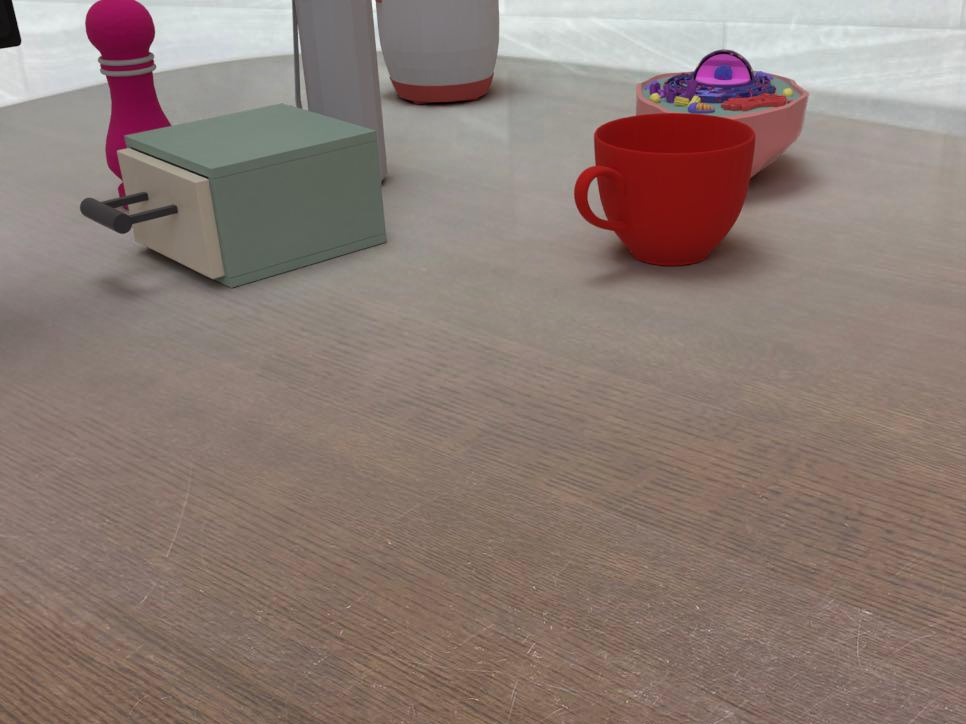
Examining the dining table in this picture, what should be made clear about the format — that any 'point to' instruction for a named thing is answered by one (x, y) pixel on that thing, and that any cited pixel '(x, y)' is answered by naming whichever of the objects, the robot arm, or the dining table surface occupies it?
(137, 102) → the pepper mill
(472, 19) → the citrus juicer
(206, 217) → the drawer
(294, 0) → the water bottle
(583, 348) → the dining table surface
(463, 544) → the dining table surface
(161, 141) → the green storage cabinet
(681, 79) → the cell model
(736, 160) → the ceramic cup
